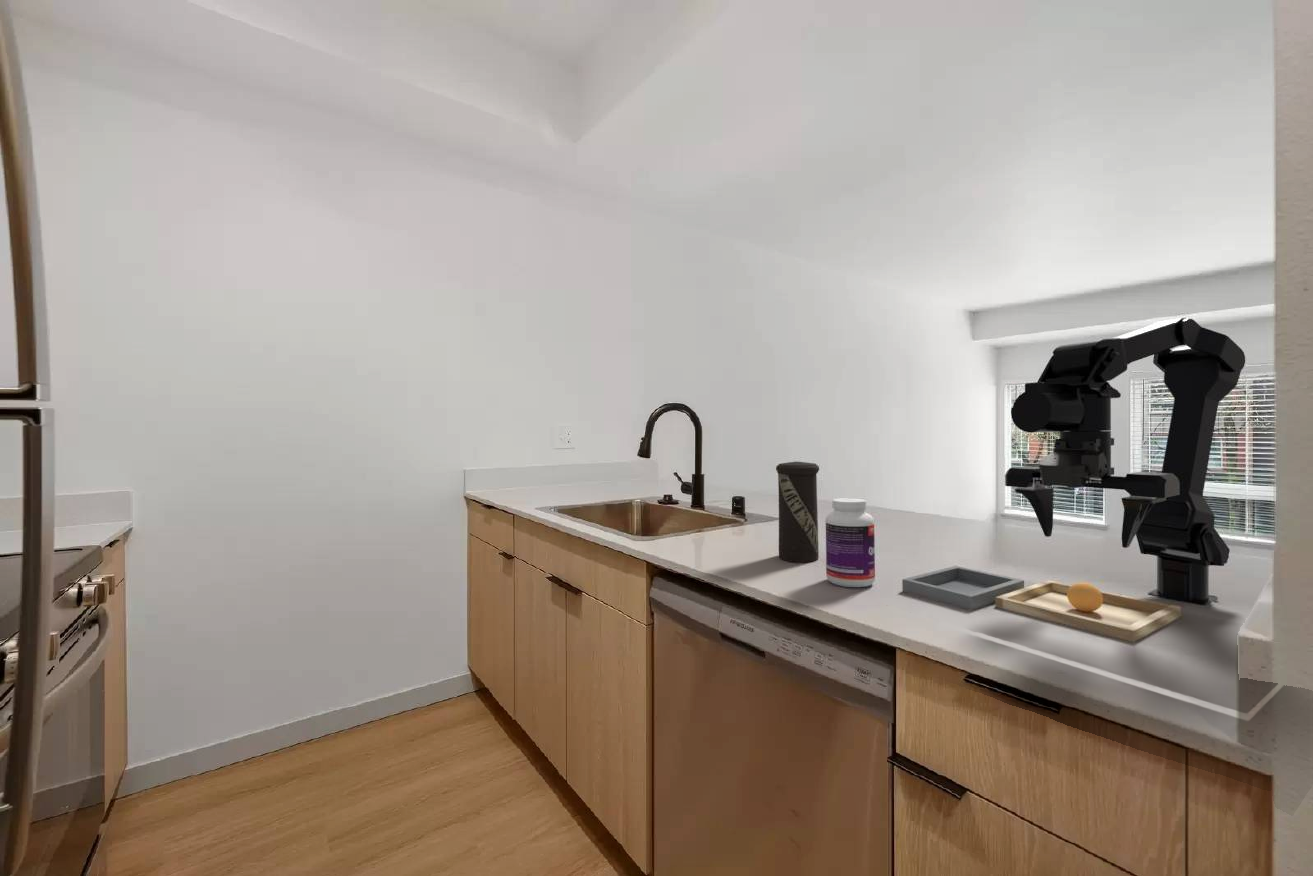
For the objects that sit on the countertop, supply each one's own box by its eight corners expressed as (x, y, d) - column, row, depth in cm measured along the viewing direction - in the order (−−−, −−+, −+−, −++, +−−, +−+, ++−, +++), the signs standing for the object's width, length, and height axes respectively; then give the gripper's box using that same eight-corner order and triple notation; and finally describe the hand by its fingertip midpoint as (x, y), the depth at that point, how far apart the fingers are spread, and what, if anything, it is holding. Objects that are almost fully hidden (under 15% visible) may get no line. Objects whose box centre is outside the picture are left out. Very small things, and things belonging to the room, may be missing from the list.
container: (778, 562, 110) (777, 463, 109) (775, 552, 119) (774, 460, 118) (822, 563, 108) (821, 462, 108) (817, 553, 117) (816, 460, 117)
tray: (955, 579, 96) (955, 565, 96) (1024, 595, 86) (1024, 580, 86) (902, 594, 88) (902, 579, 88) (971, 613, 79) (971, 596, 79)
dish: (1048, 591, 88) (1048, 580, 88) (1180, 620, 75) (1180, 606, 75) (995, 609, 80) (995, 597, 80) (1133, 645, 66) (1133, 631, 66)
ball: (1074, 604, 80) (1074, 577, 80) (1108, 612, 77) (1108, 584, 77) (1061, 609, 78) (1061, 581, 78) (1095, 617, 75) (1095, 588, 75)
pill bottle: (879, 590, 90) (878, 503, 90) (828, 588, 92) (827, 502, 92) (870, 577, 98) (869, 497, 98) (823, 575, 100) (823, 496, 99)
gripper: (985, 432, 81) (985, 537, 81) (1147, 432, 65) (1147, 563, 65) (1023, 431, 87) (1023, 529, 87) (1181, 430, 71) (1181, 550, 71)
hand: (1084, 541), depth 77 cm, fingers open, 9 cm apart
